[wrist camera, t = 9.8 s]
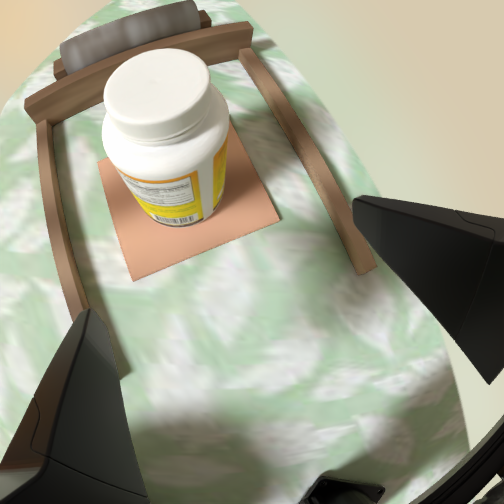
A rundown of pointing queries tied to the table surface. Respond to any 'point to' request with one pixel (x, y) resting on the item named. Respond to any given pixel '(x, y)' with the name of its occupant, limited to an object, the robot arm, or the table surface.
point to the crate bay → (237, 160)
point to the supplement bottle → (168, 135)
